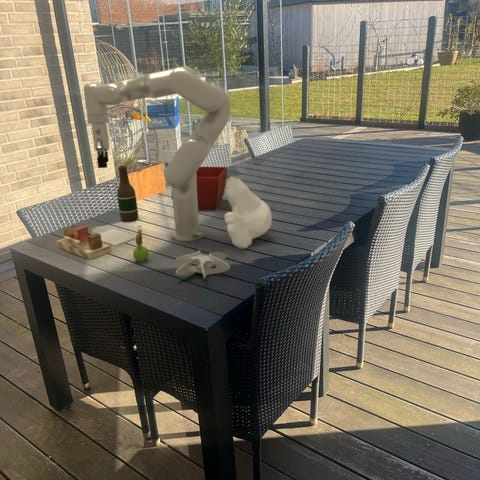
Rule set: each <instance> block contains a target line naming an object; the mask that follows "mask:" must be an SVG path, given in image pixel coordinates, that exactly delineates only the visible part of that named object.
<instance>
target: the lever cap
mask: <svg viewBox="0 0 480 480" xmlns="http://www.w3.org/2000/svg"><path fill="white" fill-rule="evenodd" d="M73 228H74V229H73V233H74V238H75V239H76V240H78V241H81V244H82V247H86V246H89V243H88V238H87V236H89V232H88V231H89V229H88V228H89V227H88V226H85V225H80V226H78V227H73Z"/></svg>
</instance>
